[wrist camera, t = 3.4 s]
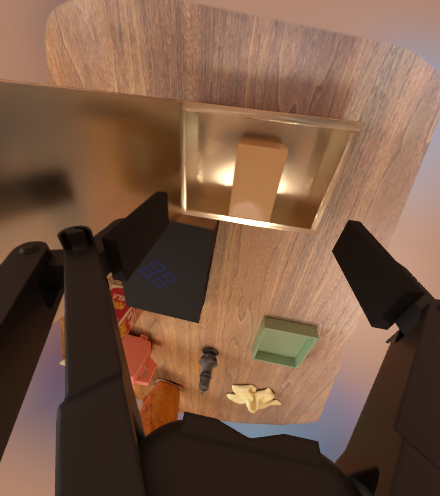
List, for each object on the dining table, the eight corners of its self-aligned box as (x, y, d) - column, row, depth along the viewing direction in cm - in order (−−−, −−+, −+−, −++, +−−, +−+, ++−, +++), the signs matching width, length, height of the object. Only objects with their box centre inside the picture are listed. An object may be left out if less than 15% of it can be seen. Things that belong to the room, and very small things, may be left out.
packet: (279, 138, 27) (289, 150, 19) (266, 193, 32) (269, 222, 24) (243, 133, 28) (237, 143, 20) (235, 189, 32) (228, 216, 24)
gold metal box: (341, 119, 26) (365, 122, 20) (305, 214, 34) (314, 235, 28) (194, 101, 27) (177, 99, 22) (192, 197, 35) (180, 214, 30)
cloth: (225, 397, 85) (223, 415, 80) (229, 379, 75) (227, 398, 70) (278, 409, 83) (279, 428, 78) (290, 391, 73) (292, 412, 68)
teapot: (104, 339, 72) (75, 383, 60) (99, 319, 64) (65, 365, 53) (162, 356, 72) (144, 402, 61) (165, 338, 65) (145, 387, 53)
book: (221, 213, 36) (214, 231, 31) (205, 300, 51) (198, 323, 46) (129, 193, 37) (107, 207, 31) (139, 285, 51) (126, 306, 46)
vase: (200, 387, 83) (177, 502, 59) (180, 398, 94) (153, 498, 70) (155, 368, 79) (110, 482, 55) (139, 381, 90) (96, 482, 66)
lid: (-223, 53, 5) (-312, 41, 6) (31, 344, 13) (-30, 314, 14) (179, 99, 21) (133, 94, 22) (181, 216, 29) (147, 207, 31)
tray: (316, 326, 50) (319, 338, 48) (295, 358, 59) (297, 368, 57) (264, 316, 51) (264, 327, 48) (252, 349, 60) (251, 359, 58)
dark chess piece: (212, 345, 63) (204, 389, 53) (222, 355, 65) (216, 398, 56) (198, 348, 65) (187, 390, 56) (208, 357, 68) (199, 399, 58)
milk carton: (141, 289, 52) (89, 370, 36) (144, 311, 58) (100, 390, 42) (108, 282, 53) (42, 359, 37) (114, 304, 58) (59, 380, 42)
